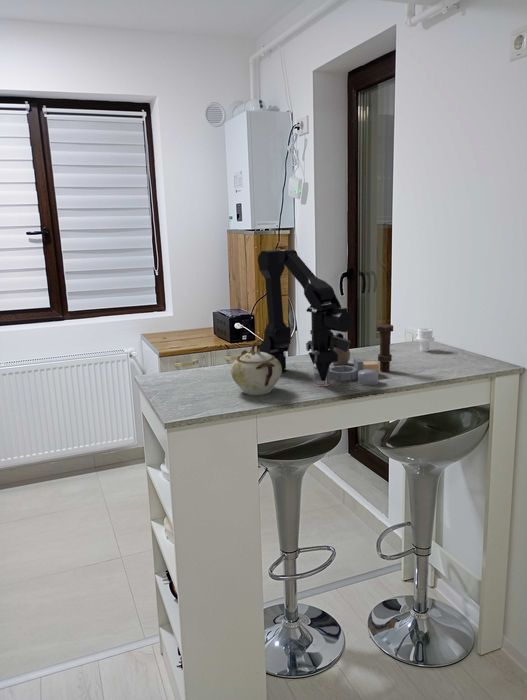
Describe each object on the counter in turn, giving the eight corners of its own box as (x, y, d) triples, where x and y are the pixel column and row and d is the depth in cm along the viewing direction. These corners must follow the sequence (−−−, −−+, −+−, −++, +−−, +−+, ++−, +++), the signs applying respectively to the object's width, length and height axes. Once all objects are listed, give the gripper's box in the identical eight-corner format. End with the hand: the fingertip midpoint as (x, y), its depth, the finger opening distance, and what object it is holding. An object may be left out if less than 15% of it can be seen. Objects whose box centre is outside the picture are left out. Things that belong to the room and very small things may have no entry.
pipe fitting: (421, 347, 223) (422, 327, 221) (437, 350, 218) (438, 329, 216) (411, 350, 219) (411, 329, 217) (427, 353, 214) (427, 331, 212)
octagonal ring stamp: (331, 381, 182) (331, 365, 181) (325, 374, 191) (325, 358, 189) (381, 378, 183) (381, 362, 182) (372, 371, 192) (372, 355, 191)
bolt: (392, 373, 189) (393, 327, 185) (376, 373, 190) (377, 327, 186) (392, 368, 194) (393, 324, 191) (376, 368, 195) (377, 324, 192)
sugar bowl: (295, 395, 169) (294, 344, 165) (247, 404, 162) (245, 351, 159) (265, 380, 186) (264, 333, 183) (221, 387, 180) (219, 338, 177)
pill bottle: (323, 381, 182) (323, 355, 180) (332, 384, 178) (332, 357, 176) (311, 383, 180) (310, 357, 178) (319, 387, 176) (319, 360, 174)
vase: (327, 366, 200) (327, 341, 198) (332, 361, 207) (331, 337, 205) (348, 367, 198) (348, 341, 196) (351, 362, 205) (351, 337, 203)
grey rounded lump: (360, 386, 176) (360, 374, 175) (355, 380, 182) (355, 369, 181) (380, 385, 177) (380, 373, 176) (374, 379, 183) (374, 368, 182)
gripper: (355, 332, 167) (355, 385, 170) (340, 321, 185) (340, 369, 188) (317, 334, 166) (317, 387, 169) (305, 323, 184) (306, 371, 187)
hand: (321, 378), depth 179 cm, fingers closed on pill bottle, 5 cm apart
